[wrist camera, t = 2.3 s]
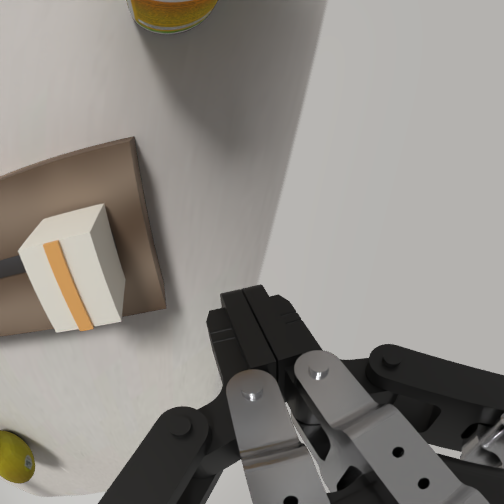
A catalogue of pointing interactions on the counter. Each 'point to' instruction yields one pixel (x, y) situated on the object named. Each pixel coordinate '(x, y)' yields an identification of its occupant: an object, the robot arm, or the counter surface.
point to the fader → (76, 269)
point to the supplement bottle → (169, 14)
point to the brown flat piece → (69, 199)
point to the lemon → (15, 458)
